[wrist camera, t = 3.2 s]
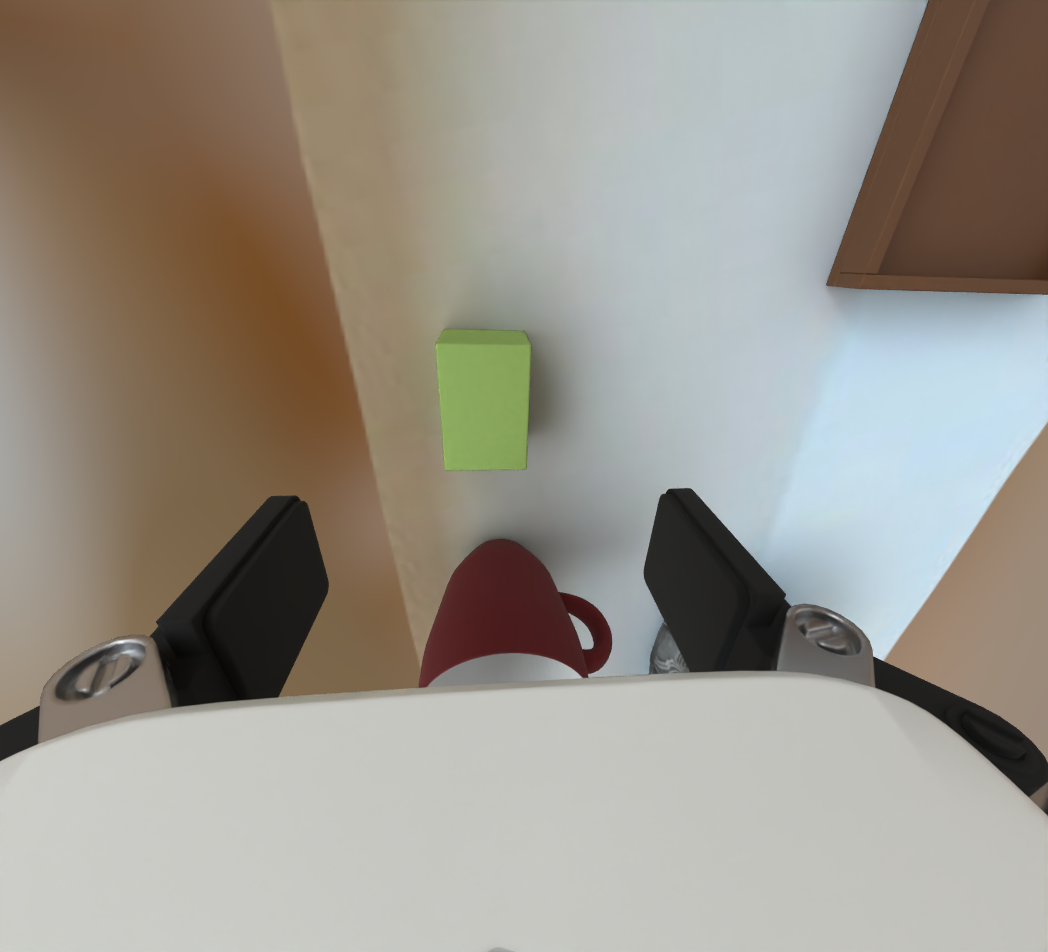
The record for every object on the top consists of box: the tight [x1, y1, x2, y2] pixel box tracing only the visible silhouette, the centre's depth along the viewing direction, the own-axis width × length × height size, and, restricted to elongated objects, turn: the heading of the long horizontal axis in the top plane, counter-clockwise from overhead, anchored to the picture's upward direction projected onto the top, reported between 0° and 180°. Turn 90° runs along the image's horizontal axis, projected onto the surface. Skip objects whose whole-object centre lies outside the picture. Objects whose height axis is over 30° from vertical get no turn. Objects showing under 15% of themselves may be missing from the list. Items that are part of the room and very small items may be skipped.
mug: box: [419, 539, 612, 688], centre depth 23 cm, size 10×8×10 cm
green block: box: [435, 329, 532, 471], centre depth 20 cm, size 6×4×4 cm, turn 178°
